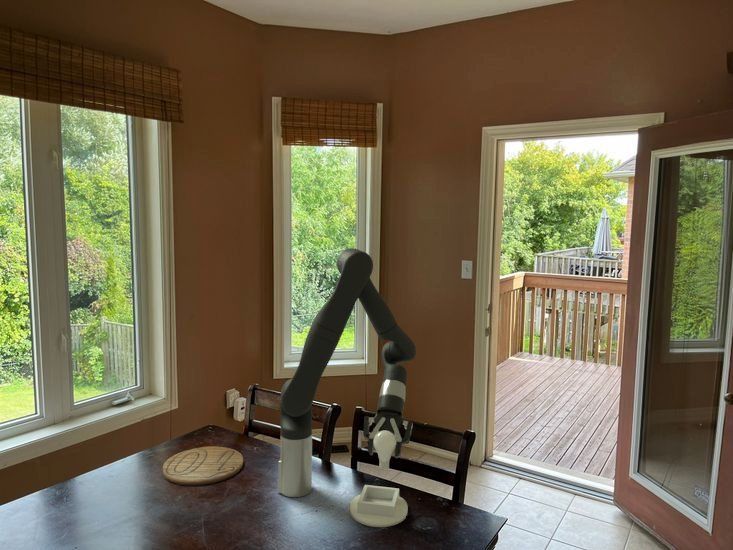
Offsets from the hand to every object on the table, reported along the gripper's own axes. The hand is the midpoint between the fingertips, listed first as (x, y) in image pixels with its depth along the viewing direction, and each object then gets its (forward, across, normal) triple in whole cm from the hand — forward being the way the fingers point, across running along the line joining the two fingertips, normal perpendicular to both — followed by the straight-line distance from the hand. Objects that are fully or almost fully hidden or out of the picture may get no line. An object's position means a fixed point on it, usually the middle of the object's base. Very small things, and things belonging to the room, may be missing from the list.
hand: (383, 455), depth 142 cm
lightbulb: (+2, 0, +5) cm, 5 cm away
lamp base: (+11, -1, +13) cm, 17 cm away
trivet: (+2, -61, +24) cm, 66 cm away
